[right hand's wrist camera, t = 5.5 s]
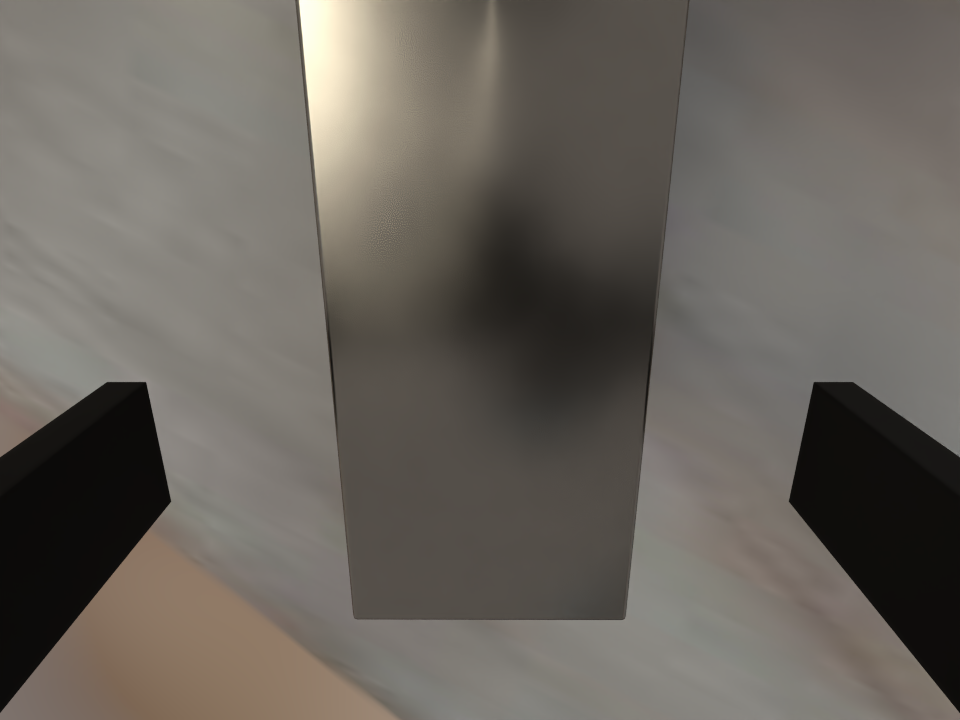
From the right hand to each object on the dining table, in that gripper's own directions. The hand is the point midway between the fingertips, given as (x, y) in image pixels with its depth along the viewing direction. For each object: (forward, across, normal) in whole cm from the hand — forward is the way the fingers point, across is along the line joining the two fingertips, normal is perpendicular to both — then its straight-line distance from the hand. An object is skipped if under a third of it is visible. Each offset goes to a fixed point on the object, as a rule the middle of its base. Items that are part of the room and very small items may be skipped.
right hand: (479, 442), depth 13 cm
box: (+12, 0, -8) cm, 14 cm away
